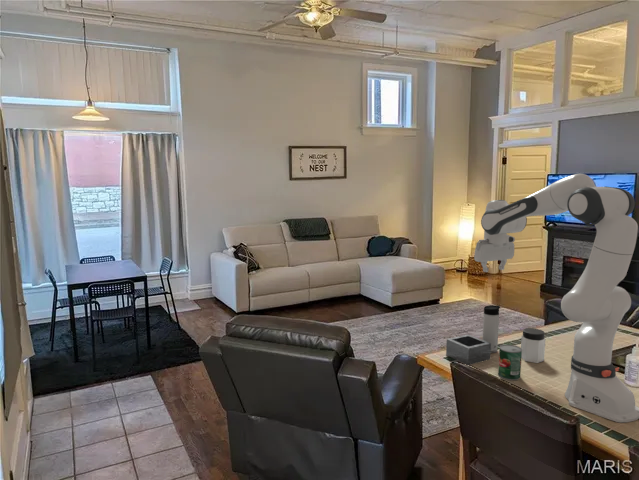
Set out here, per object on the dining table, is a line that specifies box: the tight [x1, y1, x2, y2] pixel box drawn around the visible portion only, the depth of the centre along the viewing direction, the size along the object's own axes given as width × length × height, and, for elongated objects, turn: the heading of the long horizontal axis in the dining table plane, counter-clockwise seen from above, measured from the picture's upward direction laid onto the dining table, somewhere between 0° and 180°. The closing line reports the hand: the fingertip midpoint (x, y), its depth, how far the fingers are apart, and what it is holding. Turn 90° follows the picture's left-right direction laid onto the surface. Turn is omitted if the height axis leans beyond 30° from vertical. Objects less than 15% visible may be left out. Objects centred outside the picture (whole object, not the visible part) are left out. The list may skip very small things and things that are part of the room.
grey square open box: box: [445, 334, 492, 366], centre depth 195 cm, size 12×12×7 cm
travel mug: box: [482, 304, 501, 354], centre depth 202 cm, size 6×7×20 cm
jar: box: [520, 327, 546, 364], centre depth 193 cm, size 9×8×12 cm
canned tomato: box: [497, 344, 522, 381], centre depth 177 cm, size 8×8×11 cm
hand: (493, 270), depth 199 cm, fingers open, 8 cm apart
